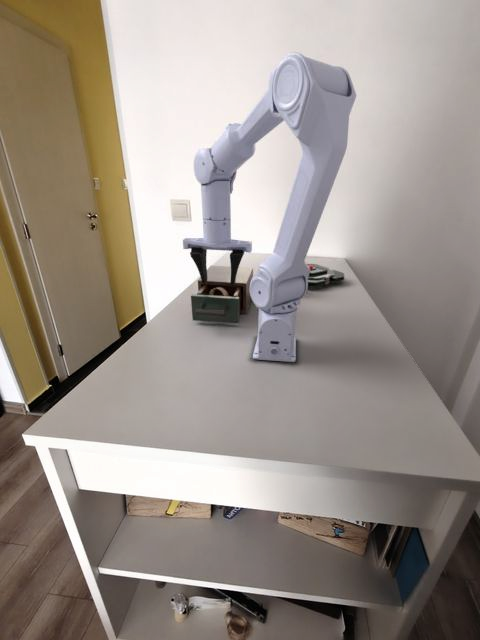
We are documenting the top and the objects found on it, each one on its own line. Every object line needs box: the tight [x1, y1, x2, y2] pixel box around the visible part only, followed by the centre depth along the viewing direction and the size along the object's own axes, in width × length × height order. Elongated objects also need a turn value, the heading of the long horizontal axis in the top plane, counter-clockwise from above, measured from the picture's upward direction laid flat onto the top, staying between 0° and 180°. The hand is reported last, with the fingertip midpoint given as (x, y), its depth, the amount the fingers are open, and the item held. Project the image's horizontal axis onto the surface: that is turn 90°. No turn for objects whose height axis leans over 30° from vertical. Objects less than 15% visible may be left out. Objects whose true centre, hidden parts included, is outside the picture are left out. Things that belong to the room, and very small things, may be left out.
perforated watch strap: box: [209, 287, 229, 297], centre depth 77 cm, size 3×5×5 cm, turn 56°
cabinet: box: [197, 265, 254, 314], centre depth 86 cm, size 14×12×8 cm
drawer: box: [190, 284, 243, 325], centre depth 76 cm, size 17×10×6 cm, turn 175°
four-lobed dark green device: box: [306, 262, 345, 288], centre depth 106 cm, size 18×18×5 cm
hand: (218, 282), depth 75 cm, fingers open, 6 cm apart
